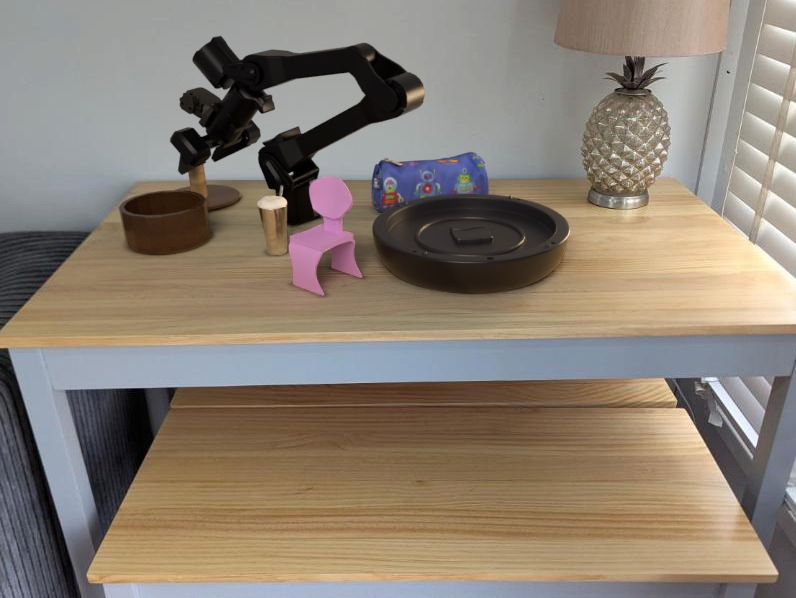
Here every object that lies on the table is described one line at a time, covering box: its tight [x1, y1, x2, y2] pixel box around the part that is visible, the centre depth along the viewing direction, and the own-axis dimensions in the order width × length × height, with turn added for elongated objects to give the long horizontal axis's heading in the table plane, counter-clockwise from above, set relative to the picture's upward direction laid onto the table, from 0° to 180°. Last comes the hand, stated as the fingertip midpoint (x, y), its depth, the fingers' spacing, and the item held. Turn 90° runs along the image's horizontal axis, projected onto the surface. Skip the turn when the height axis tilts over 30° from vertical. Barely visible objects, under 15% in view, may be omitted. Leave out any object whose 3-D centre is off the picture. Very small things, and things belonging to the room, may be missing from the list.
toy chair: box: [288, 175, 364, 296], centre depth 110 cm, size 8×9×15 cm
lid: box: [175, 164, 240, 211], centre depth 146 cm, size 15×15×7 cm
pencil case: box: [370, 151, 490, 213], centre depth 140 cm, size 22×9×10 cm, turn 104°
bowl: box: [118, 189, 212, 256], centre depth 129 cm, size 14×14×6 cm
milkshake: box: [257, 185, 288, 256], centre depth 123 cm, size 5×5×10 cm
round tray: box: [371, 193, 571, 294], centre depth 120 cm, size 30×6×30 cm
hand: (197, 166), depth 144 cm, fingers open, 9 cm apart
